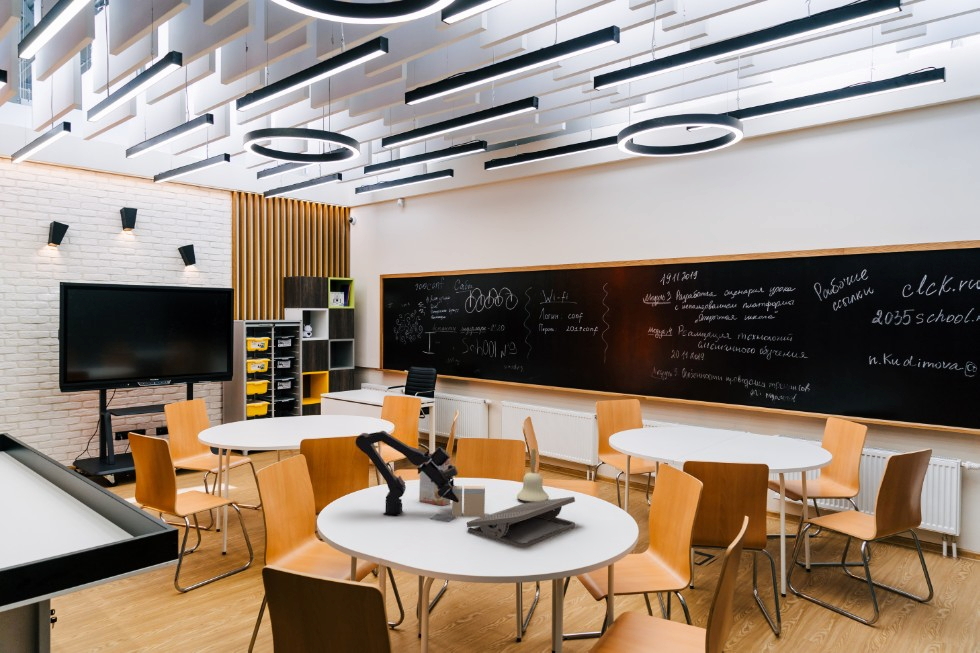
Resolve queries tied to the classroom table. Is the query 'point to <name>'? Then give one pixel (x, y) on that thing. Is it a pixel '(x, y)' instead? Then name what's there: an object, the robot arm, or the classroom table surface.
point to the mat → (443, 517)
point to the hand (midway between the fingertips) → (458, 498)
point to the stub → (456, 506)
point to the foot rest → (518, 514)
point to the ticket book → (474, 500)
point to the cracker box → (432, 487)
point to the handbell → (532, 484)
